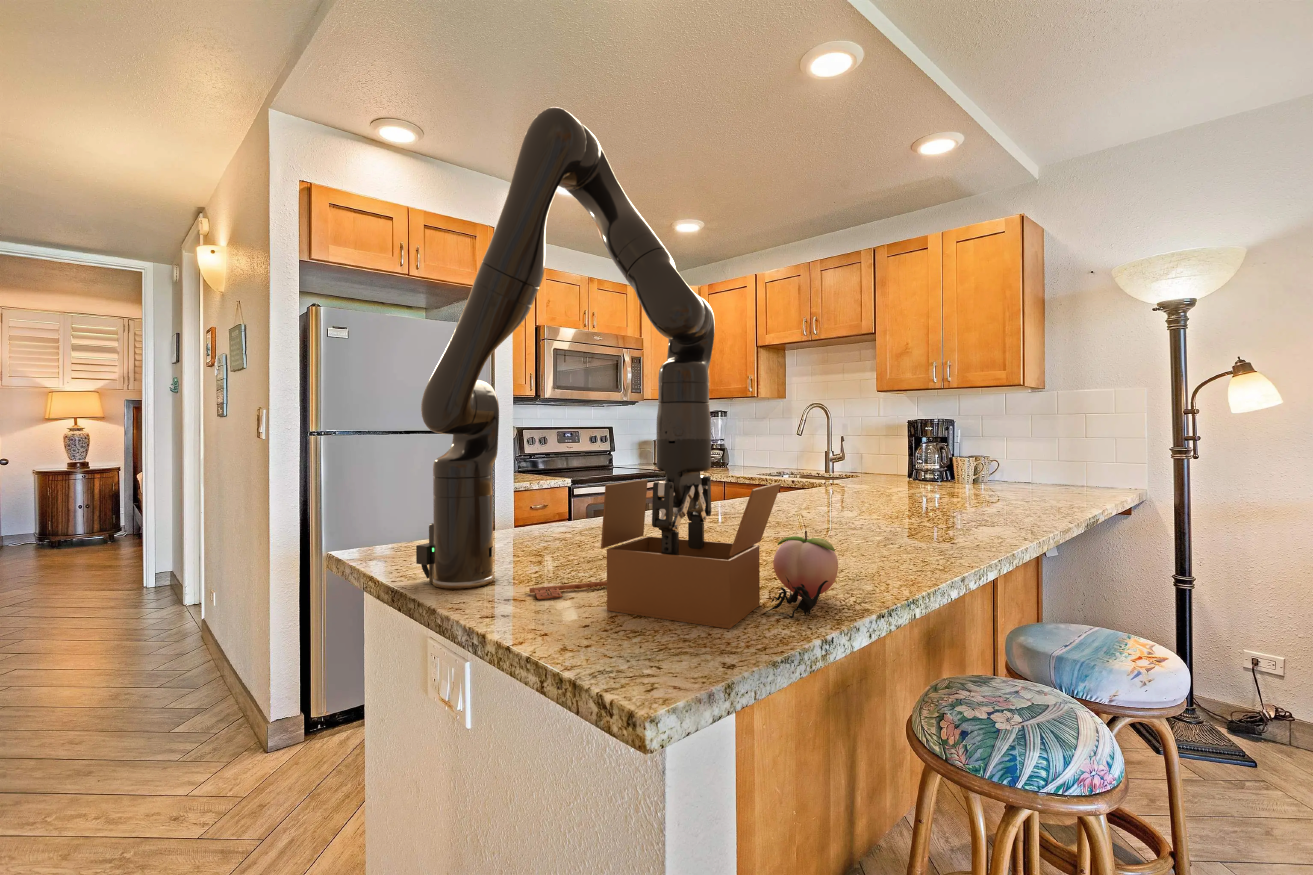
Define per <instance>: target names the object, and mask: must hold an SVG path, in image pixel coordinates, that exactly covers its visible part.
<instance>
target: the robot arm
mask: <svg viewBox="0 0 1313 875" xmlns="http://www.w3.org/2000/svg"><path fill="white" fill-rule="evenodd" d="M520 146H521V147H520V150H519V152H518V156H517V160H516V164H515V168H514V172H513V175H512V178H511V182H510V185H509V189H508V191H507V196H506V198H505V202H504V203H503V207H502V210H501V212H500V215H499V218H498V220H497V224H496V226H495V229H494V232H493V234H492V236H491V240H490V242H489V244H488V247H487V249H486V252H485V254H484V256H483V258H482V260H481V263H480V266H479V268H478V271H477V272H476V276H475V278H474V281H473V284H472V287H471V289H470V292H469V294H468V298H467V300H466V303H465V305H464V308H463V309H462V312H461V314H460V317H459V319H458V322H457V324H456V325H455V329H454V331H453V333H452V335H451V338H450V340H449V342H448V344H447V346H446V347H445V349H444V352H443V353H442V355H441V357H440V359H439V360H438V363H437V365H436V366H435V368H434V370H433V372H432V374H431V376H430V377H429V380H428V381H427V383H426V386H425V388H424V392H423V394H422V398H421V405H420V412H421V418H422V421H423V423H424V425H425V426H426V427H427V429H428V430H430V431H431V432H433V433H435V434H440V435H452V440H451V445H450V447H449V449H448V450H447V451H446V452H445V453H443V454H442V455H439V457H437V458H436V459H434V461H433V464H432V482H433V483H432V495H433V496H432V497H433V498H432V500H433V502H432V504H433V510H432V511H433V514H432V515H433V520H432V521H433V522H432V523H429V526H428V542H427V543H421V544H417V545H415V559H416V560H415V564H416V565H420V566H421V570H422V572H423V574H424V575H425V577H426V579H428V581H429V584H432V585H433V586H434V587H437V588H440V589H449V590H458V589H459V590H460V589H472V588H478V587H483V586H485V585H489V584H491V583H492V582H494V580H495V579H494V578H495V577H494V576H495V574H494V556H495V554H496V545H495V544H494V495H493V492H494V491H493V489H494V487H493V486H494V484H493V479H494V478H493V470H494V465H495V463H496V459H497V456H498V449H499V429H500V428H499V427H500V405H499V399H498V396H497V393H496V391H495V389H494V387H493V386H492V385H491V384H489V382H486V381H485V380H482V379H479V377H480V374H481V372H482V371H483V368H484V366H485V365H486V363H487V361H488V359H489V358H490V357H491V355H493V353H494V352H495V351H496V350H497V348H498V347H499V346H500V345H501V344H502V343H503V342H504V341H505V340H507V339H508V337H510V336H511V335H512V334H513V333H514V332H515V331H516V329H518V328H519V327H520V326H521V324H522V323H523V322H524V321H525V319H526V318H527V317H528V315H529V313H530V311H531V309H532V307H533V305H534V302H535V300H536V297H537V295H538V292H539V290H540V288H541V285H542V283H543V279H544V275H545V269H546V228H547V220H548V215H549V212H550V208H551V205H552V203H553V200H554V198H555V195H556V193H557V190H558V188H562V189H564V190H566V192H568V193H569V194H570V195H571V196H572V197H573V198H574V199H575V200H576V201H577V202H578V203H579V204H580V205H581V206H582V207H583V208H584V210H585V211H586V212H587V213H588V214H589V216H590V217H591V219H592V220H593V222H594V224H595V226H596V228H597V230H598V233H599V237H600V238H601V241H602V243H603V245H604V248H605V249H606V251H607V253H608V255H609V257H610V259H611V260H612V261H613V263H614V264H615V266H616V267H617V269H618V270H619V272H620V273H621V274H622V276H623V278H624V279H625V281H627V283H628V285H629V286H630V287H631V288H632V289H633V291H634V292H635V294H636V297H637V299H638V301H639V304H640V305H641V307H642V310H643V311H644V313H645V315H646V317H647V318H648V321H650V323H651V325H652V326H653V327H654V329H656V331H657V332H658V333H659V334H660V335H662V337H664V338H666V339H668V344H667V354H666V361H665V362H663V363H662V364H661V365H660V366H659V371H658V378H657V380H658V381H657V383H658V384H657V385H658V386H657V388H658V391H657V392H658V393H657V394H658V396H657V397H658V398H657V399H658V404H657V413H656V423H655V424H656V425H655V426H656V447H655V448H656V454H655V455H656V469H657V470H658V471H660V472H665V480H664V481H663V480H661V481H660V480H659V481H656V480H655V481H654V482H653V484H652V502H651V503H652V507H651V508H652V509H651V526H652V528H657V529H658V531H661V537H662V554H670V555H679V539H680V532H679V528H680V525H681V521H682V519H684V518H685V517H687V520H688V521H689V522H687V539H688V546H689V548H692V549H701V548H703V547H704V541H705V523H706V522H707V520H708V518H707V517H711V515H712V480H711V476H710V475H701V472H708V471H710V470H711V469H712V418H711V411H710V375H709V370H710V365H711V360H712V355H713V349H714V342H715V341H714V340H715V333H716V332H715V331H716V329H715V327H716V326H715V324H716V323H715V314H714V312H713V309H712V307H711V305H710V304H709V303H708V302H707V301H706V299H704V298H703V297H701V296H700V295H699V294H697V293H695V291H693V290H692V288H691V287H690V286H689V285H688V284H687V282H686V281H685V280H684V279H683V277H682V275H681V274H680V273H679V272H678V270H677V268H676V264H675V261H674V259H673V257H672V256H671V254H670V253H669V250H668V249H667V248H666V246H664V244H663V242H662V241H661V240H660V239H659V237H658V236H657V235H656V233H655V231H653V229H652V227H650V225H649V224H648V223H647V221H646V220H645V218H644V217H643V216H642V215H641V213H640V212H639V210H638V209H637V208H636V207H635V206H634V204H633V203H632V201H631V200H630V199H629V197H628V196H627V194H626V193H625V191H624V189H623V188H622V186H621V184H620V182H619V180H618V178H617V177H616V175H615V173H614V171H613V169H612V167H611V165H610V163H609V161H608V159H607V157H606V154H605V152H604V149H603V148H602V146H601V144H600V142H599V141H598V139H597V137H596V136H595V135H594V133H593V132H591V130H590V129H589V128H587V127H586V126H585V125H584V124H583V123H582V122H581V121H580V120H578V119H577V118H576V117H575V116H574V115H573V114H572V113H570V112H569V111H567V110H566V109H564V108H563V107H558V106H552V107H547V108H546V109H544V110H542V111H541V112H539V113H538V114H537V115H536V116H535V117H534V118H533V120H532V121H531V123H530V124H529V126H528V128H527V130H526V132H525V135H524V138H523V140H522V143H521V145H520ZM660 513H661V514H660Z"/></svg>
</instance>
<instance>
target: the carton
mask: <svg viewBox="0 0 1313 875" xmlns="http://www.w3.org/2000/svg"><path fill="white" fill-rule="evenodd" d="M648 480H649V479H647V478H646V479H645V478H643V479H638V480H630V481H623V482H616V483H609V484H605V485H604V499H603V512H602V526H601V539H600V540H601V541H600V549H605V548H606V580H607V586H606V611H608V612H614V613H622V614H628V615H635V616H642V617H648V618H655V619H661V620H668V621H674V622H681V623H688V624H694V625H695V624H696V625H702V626H709V627H714V628H715V627H716V628H721V629H728V630H730V629H732V628H733V627H734V626H735V625H737V624H738V623H740V622H741V621H742V620H743V619H745V617H747V616H748V615H749V614H751V613H752V612H753V611H754V610H755V609H757V608H758V607H759V606H760V604H761V603H760V601H761V600H760V599H761V597H760V594H761V591H760V588H761V587H760V585H761V584H760V582H761V581H760V577H761V576H760V573H761V572H760V545H759V544H754V545H752V546H750V547H748V548H746V549H744V550H742V551H740V552H738V553H736V554H734V555H732V556H730V555H729V554H730V551H731V548H732V545H733V542H723V541H711V540H704V547H703V548H701V549H692V548H689V546H688V538H686V539H685V538H679V555H670V554H662V536H650V535H648V536H647V535H646V536H644V534H645V521H646V520H645V519H646V508H647V507H646V506H647V495H648V494H647V493H648Z"/></svg>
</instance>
